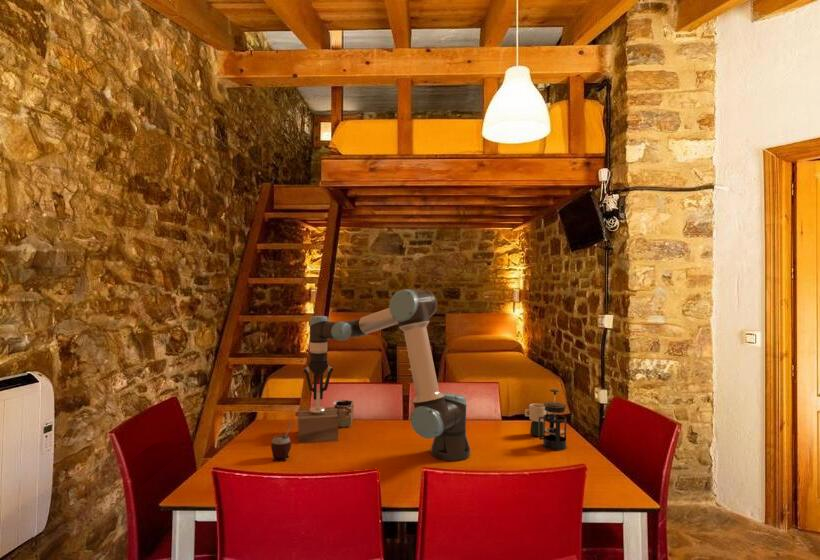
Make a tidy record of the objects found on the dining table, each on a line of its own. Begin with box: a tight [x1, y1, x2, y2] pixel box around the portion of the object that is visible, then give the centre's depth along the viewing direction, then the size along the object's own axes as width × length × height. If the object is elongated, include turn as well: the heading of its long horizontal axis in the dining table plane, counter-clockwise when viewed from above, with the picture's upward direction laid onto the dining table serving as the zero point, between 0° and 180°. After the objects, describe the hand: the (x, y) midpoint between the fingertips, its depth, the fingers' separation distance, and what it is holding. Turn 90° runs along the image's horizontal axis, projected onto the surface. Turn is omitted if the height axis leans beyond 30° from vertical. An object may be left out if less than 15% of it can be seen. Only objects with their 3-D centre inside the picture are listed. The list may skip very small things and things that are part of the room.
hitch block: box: [297, 406, 339, 444], centre depth 206 cm, size 16×16×10 cm
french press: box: [538, 388, 568, 451], centre depth 196 cm, size 12×9×23 cm
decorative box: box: [332, 399, 355, 428], centre depth 228 cm, size 13×20×10 cm, turn 177°
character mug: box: [524, 403, 551, 437], centre depth 211 cm, size 11×7×13 cm, turn 80°
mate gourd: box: [270, 418, 298, 463], centre depth 179 cm, size 8×8×15 cm
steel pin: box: [309, 405, 326, 415], centre depth 206 cm, size 6×6×12 cm
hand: (317, 407), depth 206 cm, fingers closed
